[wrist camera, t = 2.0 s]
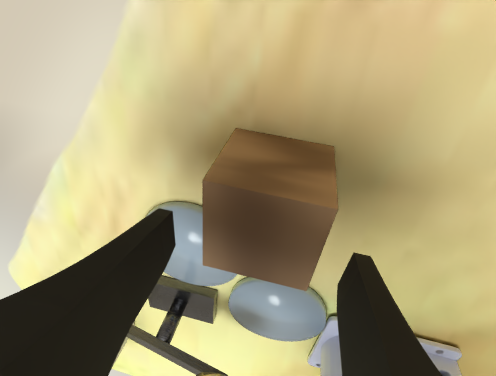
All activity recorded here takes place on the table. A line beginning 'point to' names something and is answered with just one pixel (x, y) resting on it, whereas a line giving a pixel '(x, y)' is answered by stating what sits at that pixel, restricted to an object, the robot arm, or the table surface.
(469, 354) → the table surface
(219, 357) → the table surface
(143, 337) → the balance
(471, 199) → the table surface
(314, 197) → the block
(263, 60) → the table surface
